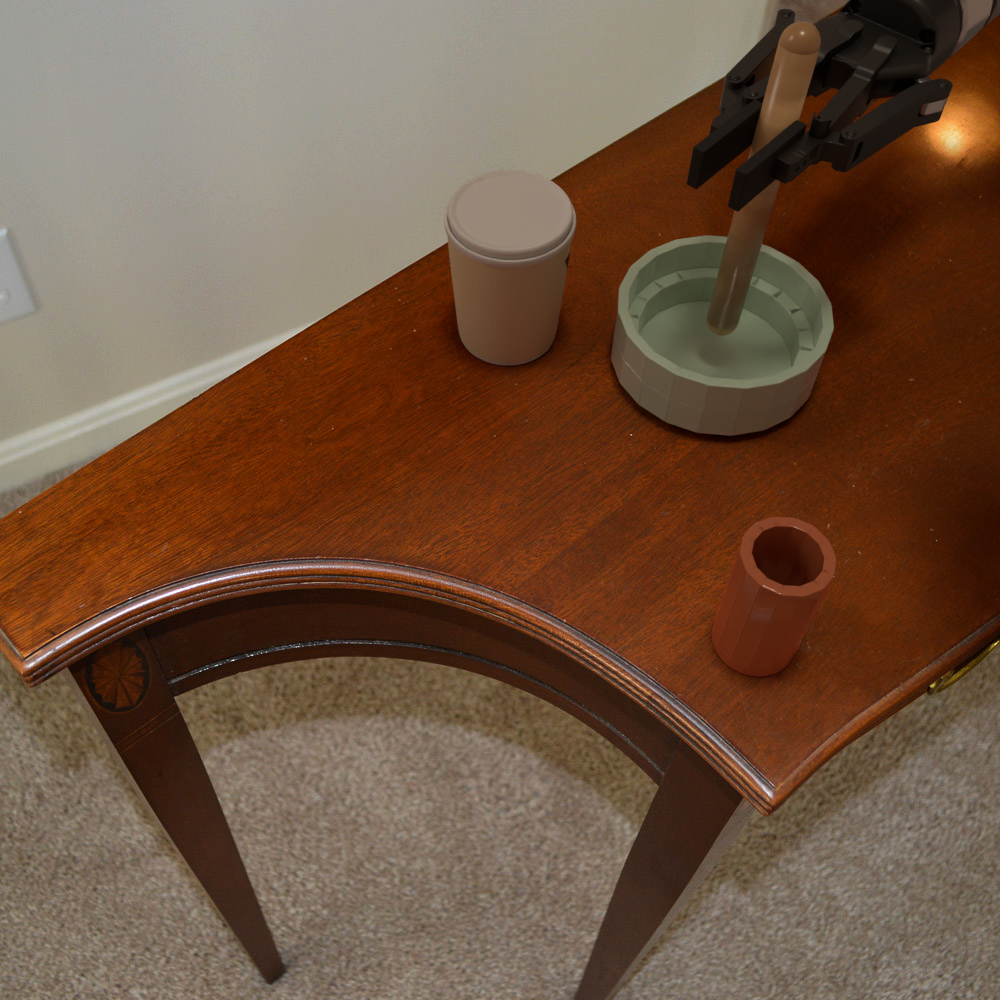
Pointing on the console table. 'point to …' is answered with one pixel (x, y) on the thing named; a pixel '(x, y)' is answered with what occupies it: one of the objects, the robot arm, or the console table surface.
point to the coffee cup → (509, 263)
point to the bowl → (718, 339)
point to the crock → (772, 595)
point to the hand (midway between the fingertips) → (716, 179)
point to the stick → (752, 220)
